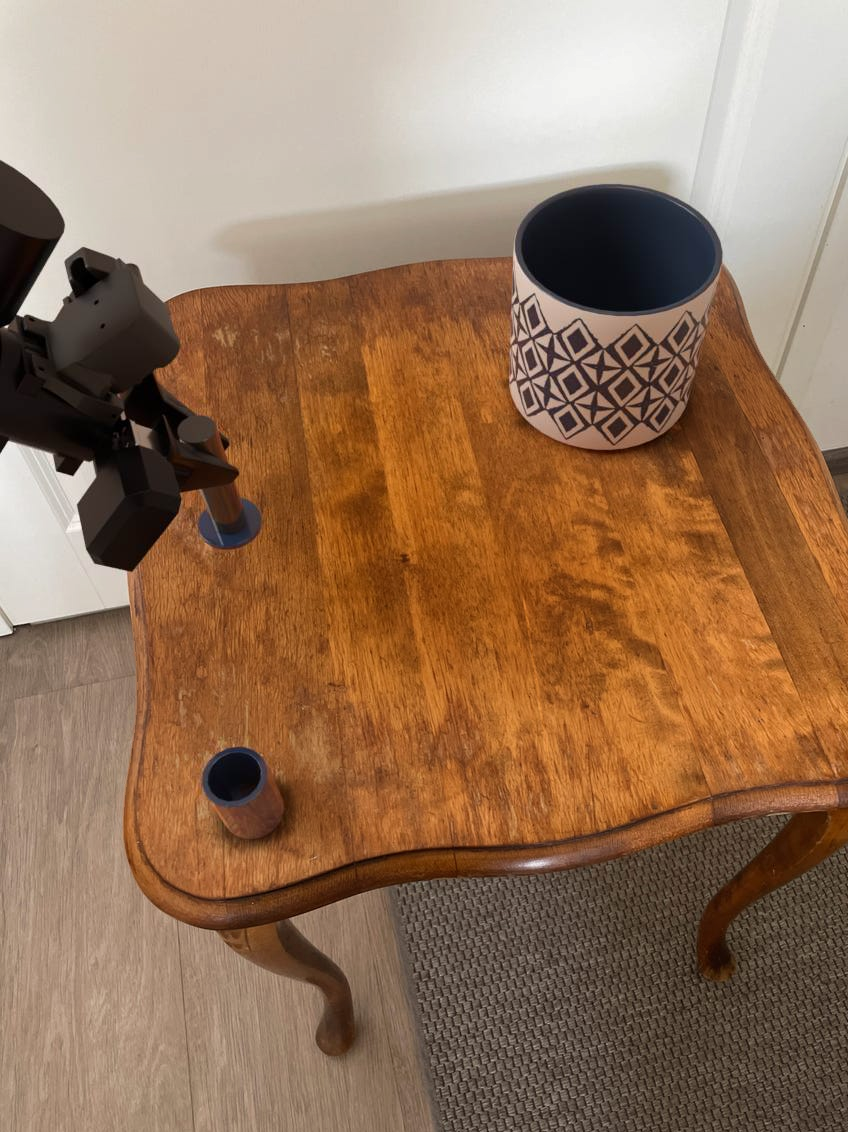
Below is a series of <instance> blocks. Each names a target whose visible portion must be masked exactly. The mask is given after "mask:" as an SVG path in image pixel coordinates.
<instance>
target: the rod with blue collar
mask: <svg viewBox="0 0 848 1132" xmlns="http://www.w3.org/2000/svg"><path fill="white" fill-rule="evenodd" d="M218 429H219V428H218V426H217V424H216V422H215V421H214V419H213V418H211V417H210V416H207V415H205V414H197V415H195V416H191V417H188V418H186V419H185V420H183V421H182V422H181V423H180V424H179V426H178V428H177V435H178V438H179V441H181V442H183V443H185V444H187V445H190V446H192V447H194V448H196V449H199V450H201V451H203V452H205V453H208V454H210V455H212V456H214V457H217V458H219V459H221V460H223V461H225V462H227V463H229V460H228V456H227V453H226V450H224V447H223V444H222V441H221V438H220V435H219V432H220V431H219V430H218ZM229 464H230V463H229ZM198 492H199V494H200V497H201V500H202V503H203V505H204V507H205V508H204V509H203V511H202V512H201V513H200V515H199V517H198V521H197V531H198V533H199V535H200V537H201V539H202V541H203V542H204V543H205V544H206V545H208V546H209V547H211V548H214V549H217V550H221V551H222V550H223V551H229V550H230V551H233V550H237V549H240V548H243V547H245V546H247V545H249V544H250V543H252V542H253V541H254V540H255V539H256V538H257V537H258V536H259V534H260V532H261V530H262V527H263V516H262V512H261V510H260V508H259V507H258V506H257V505H256V504H255V503H254V502H253V501H251V500H249V499H247V498H244V497H241V495H240V492H239V490H238V486H237V484H236V480H235V481H234V482H233V483H231V484H227V485H222V486H216V487H210V488H205V489H199V490H198Z"/></svg>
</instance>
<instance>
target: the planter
mask: <svg viewBox="0 0 848 1132" xmlns="http://www.w3.org/2000/svg"><path fill="white" fill-rule="evenodd" d="M721 242H722V241H721V240H720V237H719V235H718V233H717V230H716V229H715V228H714V226H713V225H712V224H711V222H710V221H709V220H708V219H707V217H705V216H704V215H703V214H702V213H701V212H700V211H699V210H698V209H696V208H694V207H693V206H691V205H690V204H688V203H686V202H685V201H683V200H681V199H679V198H678V197H675V196H673V195H671V194H668V193H666V192H663V191H659V190H656V189H653V188H650V187H645V186H639V185H635V184H634V185H633V184H623V183H600V184H589V185H583V186H578V187H574V188H570V189H567V190H564V191H561V192H558V193H557V194H554V195H552V196H550V197H547V198H546V199H544V200H543V201H541V202H540V203H538V204H537V205H535V206H534V207H533V208H532V209H531V210H530V211H529V212H528V213H527V214H526V215H525V216H524V218H523V219H522V220H521V222H520V224H519V226H518V228H517V230H516V232H515V236H514V240H513V254H512V255H513V256H512V277H511V280H512V282H511V305H510V307H511V309H510V335H509V336H510V338H509V339H510V341H509V371H508V373H509V379H508V383H509V386H508V387H509V391H510V396H511V398H512V400H513V402H514V405H515V407H516V408H517V410H518V411H519V413H520V414H521V416H522V417H523V418H524V419H525V420H526V421H527V422H528V423H529V424H531V426H532V427H533V428H535V429H536V430H537V431H539V432H541V433H542V434H543V435H546V436H548V437H549V438H551V439H553V440H554V441H555V440H556V441H558V442H560V443H563V444H566V445H569V446H573V447H577V448H581V449H587V450H597V451H607V450H608V451H613V450H614V451H615V450H621V449H622V450H623V449H628V448H631V447H636V446H640V445H642V444H645V443H648V442H650V441H652V440H654V439H656V438H658V437H659V436H661V435H663V434H664V433H665V432H667V431H668V430H669V429H671V428H672V427H673V426H674V425H675V424H676V423H677V421H678V420H679V419H680V418H681V416H682V415H683V414H684V413H683V412H684V411H685V409H686V407H687V404H688V401H689V398H690V397H689V396H690V393H691V390H692V386H693V384H694V383H693V382H694V378H695V374H696V370H697V367H698V363H699V359H700V355H701V351H702V348H703V343H704V340H705V336H706V331H707V327H708V324H709V320H710V316H711V312H712V307H713V304H714V300H715V296H716V292H717V289H718V284H719V281H720V280H719V279H720V276H721V272H722V266H723V261H724V260H723V258H724V251H723V247H722V243H721Z"/></svg>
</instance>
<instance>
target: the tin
mask: <svg viewBox="0 0 848 1132" xmlns="http://www.w3.org/2000/svg"><path fill="white" fill-rule="evenodd" d="M201 788H202V791H203V793H204V795H205V797H206V799H207V800H208V802H209V803H210V805H211V806H212V808H213V809H214V810H215V812H216V813H217V815H218V816H219V818H220V820H221V821H222V823H223V824H224V826H225V827H226V828H227V830H228V831H229V832H230V833H232V834H233V835H234V836H236V837H237V838H240V839H243V840H257V839H261V838H263V837H266V836H267V835H269V834H271V833H272V832H274V830H276V828H277V827H278V825H279V824H280V823H281V821H282V819H283V816H284V812H285V803H284V799H283V797H282V795H281V792H280V790H279V788H278V785H277V784H276V781H275V780H274V778H273V775H272V773H271V772H270V770H269V767H268V765H267V763H266V761H265V759H264V757H263V756H262V755H261V754H260V753H258V752H257V751H256V750H255V749H254V748H253V749H252V748H249V747H246V746H233V747H232V746H231V747H230V746H229V747H227V748H225V749H223V750H220V751H218V752H217V753H216V754H215V755H214V756H213V757H212V758H211V759H209V760H208V762H207V763H206V765H205V766H204V768H203V770H202V774H201Z"/></svg>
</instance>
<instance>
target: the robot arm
mask: <svg viewBox="0 0 848 1132" xmlns="http://www.w3.org/2000/svg"><path fill="white" fill-rule="evenodd" d="M65 223H66V222H65V219H64V217H63V215H62V213H61V212H60V209H59V208H58V206H57V205H56V204H55V203H54V201H53V200H52V198H50V197H49V196H48V194H46V192H44V191H43V190H42V188H40V187H39V186H38V185H37V184H36V183H35V182H33V181H32V180H31V179H30V178H29V177H28V176H26V175H25V174H23V173H22V172H20V171H19V170H17V169H16V168H15V167H13V166H12V165H10V164H8V163H7V162H5V161H3V160H1V159H0V455H1V453H2V452H3V451H4V449H5V447H6V446H7V445H8V443H9V442H10V443H14V444H17V445H21V446H24V447H27V448H30V449H33V450H37V451H40V452H44V453H48V454H50V455H52V458H53V465H54V469H55V472H57V473H60V474H64V475H67V476H70V477H74V476H75V475H76V473H77V471H78V470H79V469H80V467H81V466H82V464H83V463H84V462H87V463H91V462H92V465H93V470H94V474H95V478H93V481H92V482H91V483H90V485H89V486H88V488H87V489H86V491H85V492H84V493H83V495H82V496H81V498H80V499H79V501H78V502H77V503H76V508H77V513H78V517H79V523H80V527H81V532H82V537H83V542H84V547H85V551H86V552H87V554H88V556H89V557H90V559H91V560H92V562H93V564H94V565H99V566H103V567H107V568H111V569H116V570H119V571H126V572H130V573H133V572H134V570H135V569H136V568H137V567H138V566H139V564H140V563H141V562H142V561H143V559H144V558H145V557H146V555H147V554H148V553H149V552H150V550H151V549H152V548H153V546H155V544H156V543H157V541H158V540H159V539H160V538H161V536H162V535H163V534H164V533H165V531H166V530H167V529H168V527H169V526H170V525H171V524H172V523H173V521H174V520H175V519H176V518H177V516H178V515H179V513H180V509H181V505H182V500H183V499H182V495H181V494H183V493H187V492H193V491H199V489H205V488H210V487H216V486H222V485H227V484H231V483H233V482H234V481H235V482H236V480H237V478H238V477H239V476H240V471H239V468H238V467H236V466H234V465H233V464H230V463H227V462H225V461H223V460H221V459H219V458H217V457H214V456H212V455H210V454H208V453H205V452H203V451H201V450H199V449H196V448H194V447H192V446H190V445H187V444H185V443H183V442H181V441H179V438H178V435H177V428H178V426H179V424H180V423H181V422H182V421H183V420H185V419H186V418H188V417H191V416H195V415H198V414H197V413H195V412H194V411H193V410H191V409H190V407H187V406H186V405H185V404H184V403H183V402H181V401H180V400H179V399H178V398H177V397H176V396H175V395H173V394H172V393H171V392H170V391H168V390H167V389H166V388H165V387H164V386H163V385H162V384H161V383H160V382H159V380H158V378H157V376H156V372H155V371H156V370H157V369H164V368H166V367H167V366H169V365H170V364H171V363H172V362H173V361H174V360H176V358H177V356H178V355H179V353H180V350H181V341H180V338H179V336H178V335H177V333H176V331H175V328H174V324H173V322H172V319H171V314H172V313H171V309H170V307H169V306H168V305H167V304H166V303H165V302H164V301H163V300H162V299H161V298H160V297H159V296H158V295H157V294H156V293H155V292H153V291H152V290H151V289H150V288H149V287H148V286H147V285H146V284H145V283H144V280H143V275H142V271H141V270H140V267H139V266H138V265H137V264H136V263H132V262H129V263H125V261H123V260H122V259H121V258H120V257H118V258H115V257H113V256H111V255H108V254H105V253H102V252H99V251H97V250H95V249H91V248H88V247H86V246H81V247H80V248H79V249H76V251H75V252H73V253H72V254H71V255H69V256H68V257H67V258H65V260H64V261H63V262H64V267H65V271H66V275H67V279H68V283H69V286H70V289H71V292H70V293H69V295H67V296H65V297H64V298H63V299H62V304H63V305H62V307H61V308H60V310H59V312H58V314H57V315H56V317H55V318H54V319H53V320H52V321H51V320H44V319H41V318H39V317H36V316H34V315H31V314H27V313H26V314H24V315H23V316H21V315H19V314H18V313H19V311H20V310H21V308H22V307H23V304H24V303H25V301H26V299H27V297H28V296H29V294H30V292H31V291H32V289H33V287H34V285H35V283H36V282H37V281H38V278H39V277H40V275H41V273H42V272H43V269H44V268H45V266H46V265H47V263H48V261H49V259H50V258H51V256H52V254H53V252H54V251H55V248H56V247H57V246H58V243H59V242H60V240H61V239H62V237H63V235H64V233H65V229H66V224H65ZM218 432H219V435H220V438H221V441H222V444H223V447H224V450H225V451H226V450H227V449H228V448H229V447H230V441H229V438H227V436H225V435H224V434H222V433H221V432H220V431H218Z"/></svg>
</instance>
